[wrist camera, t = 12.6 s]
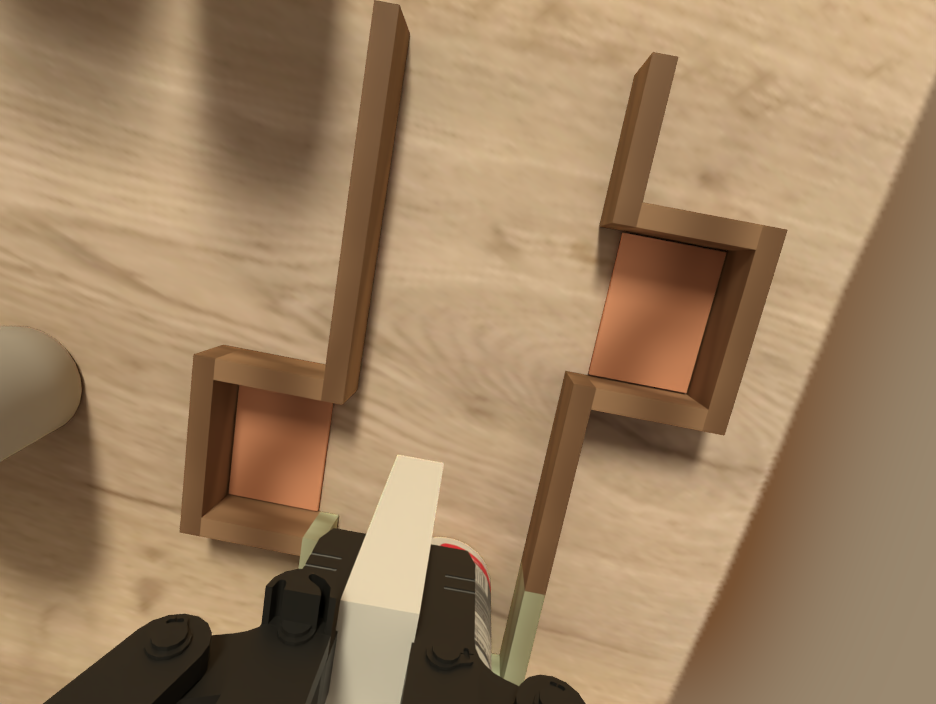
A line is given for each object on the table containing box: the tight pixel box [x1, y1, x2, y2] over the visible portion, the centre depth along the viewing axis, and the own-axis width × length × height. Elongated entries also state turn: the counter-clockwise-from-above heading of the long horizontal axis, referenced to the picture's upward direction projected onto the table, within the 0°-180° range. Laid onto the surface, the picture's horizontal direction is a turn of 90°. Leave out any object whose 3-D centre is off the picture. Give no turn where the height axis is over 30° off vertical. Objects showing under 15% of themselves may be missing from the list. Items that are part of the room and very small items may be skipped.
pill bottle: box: [431, 537, 492, 671], centre depth 22 cm, size 5×5×10 cm
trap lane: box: [180, 0, 787, 686], centre depth 23 cm, size 24×31×3 cm
